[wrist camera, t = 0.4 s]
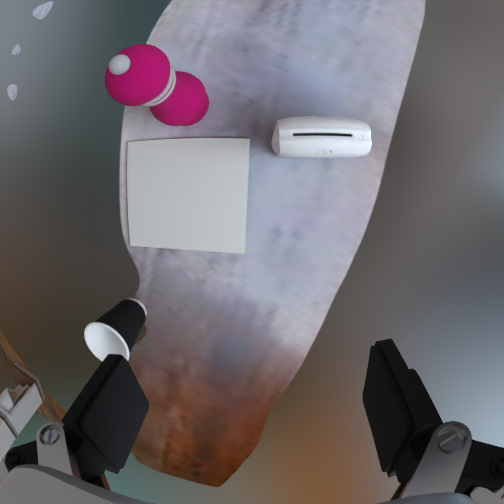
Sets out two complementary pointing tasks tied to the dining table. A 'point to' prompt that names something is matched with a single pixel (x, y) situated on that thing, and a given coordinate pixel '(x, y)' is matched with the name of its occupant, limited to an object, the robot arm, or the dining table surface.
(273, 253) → the dining table surface
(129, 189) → the mat
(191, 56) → the dining table surface
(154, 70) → the pepper mill
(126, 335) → the dixie cup
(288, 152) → the photo printer
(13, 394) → the architectural model tower
